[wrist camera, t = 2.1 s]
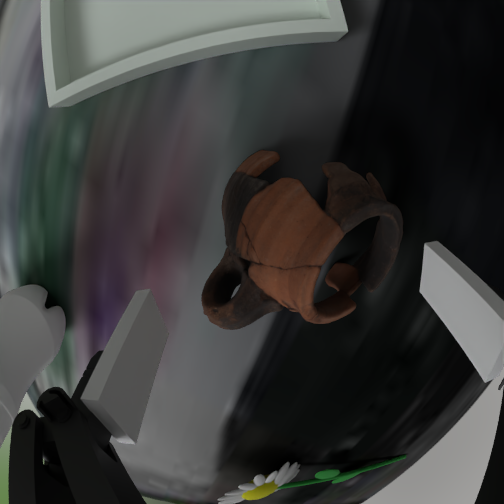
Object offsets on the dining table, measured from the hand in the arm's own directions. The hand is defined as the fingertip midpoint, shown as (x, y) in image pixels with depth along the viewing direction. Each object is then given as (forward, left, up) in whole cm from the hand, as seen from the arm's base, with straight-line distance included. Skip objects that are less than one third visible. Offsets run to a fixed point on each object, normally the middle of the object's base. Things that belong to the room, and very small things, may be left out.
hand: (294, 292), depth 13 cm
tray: (+4, -21, -7) cm, 22 cm away
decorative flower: (-2, +37, -7) cm, 38 cm away
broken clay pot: (0, -1, -7) cm, 7 cm away
